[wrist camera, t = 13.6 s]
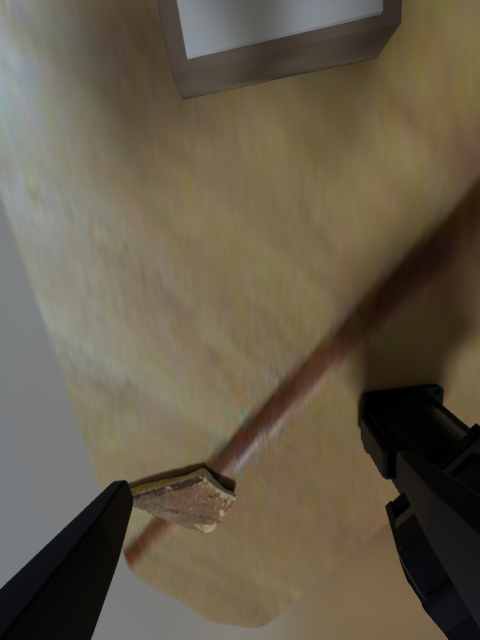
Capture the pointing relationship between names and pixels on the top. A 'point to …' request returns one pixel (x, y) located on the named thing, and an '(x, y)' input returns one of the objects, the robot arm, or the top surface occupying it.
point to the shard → (186, 500)
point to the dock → (269, 38)
